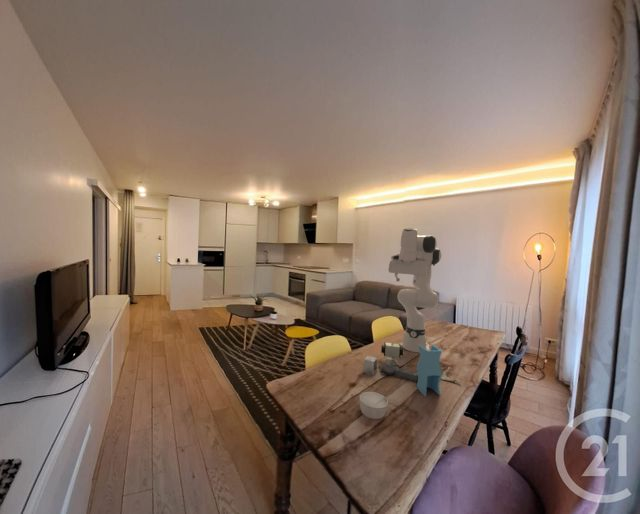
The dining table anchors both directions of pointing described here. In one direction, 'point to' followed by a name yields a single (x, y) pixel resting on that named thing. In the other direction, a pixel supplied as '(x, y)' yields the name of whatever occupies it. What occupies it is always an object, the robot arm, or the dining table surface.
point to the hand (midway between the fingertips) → (406, 282)
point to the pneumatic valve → (392, 351)
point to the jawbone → (445, 376)
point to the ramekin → (373, 404)
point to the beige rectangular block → (370, 365)
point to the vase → (429, 369)
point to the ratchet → (397, 371)
